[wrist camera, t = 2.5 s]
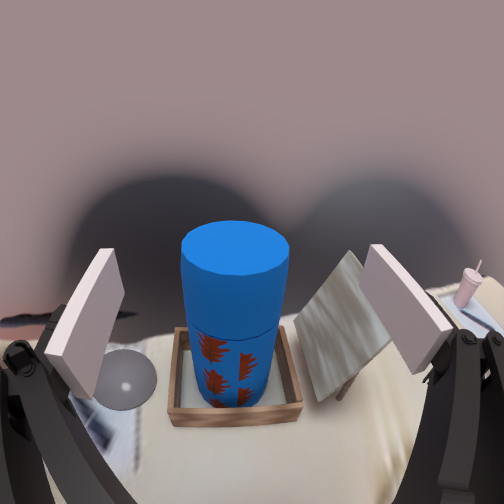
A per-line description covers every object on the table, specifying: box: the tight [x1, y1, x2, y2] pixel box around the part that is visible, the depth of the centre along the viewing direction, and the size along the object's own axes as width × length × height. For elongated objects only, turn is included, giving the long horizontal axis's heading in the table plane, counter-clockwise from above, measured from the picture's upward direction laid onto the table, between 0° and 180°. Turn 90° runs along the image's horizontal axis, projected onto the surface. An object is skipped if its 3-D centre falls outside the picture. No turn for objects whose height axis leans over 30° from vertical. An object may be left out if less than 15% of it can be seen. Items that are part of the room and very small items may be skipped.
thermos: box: [181, 221, 289, 408], centre depth 33 cm, size 11×11×25 cm
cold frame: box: [167, 250, 392, 427], centre depth 35 cm, size 26×16×20 cm, turn 96°
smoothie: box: [454, 260, 483, 308], centre depth 54 cm, size 6×6×14 cm
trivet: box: [93, 349, 157, 410], centre depth 37 cm, size 12×12×1 cm
